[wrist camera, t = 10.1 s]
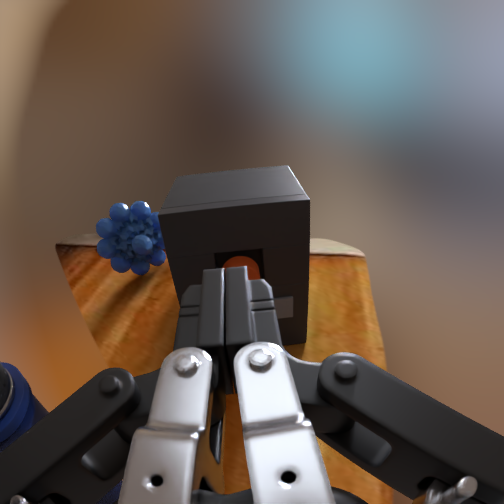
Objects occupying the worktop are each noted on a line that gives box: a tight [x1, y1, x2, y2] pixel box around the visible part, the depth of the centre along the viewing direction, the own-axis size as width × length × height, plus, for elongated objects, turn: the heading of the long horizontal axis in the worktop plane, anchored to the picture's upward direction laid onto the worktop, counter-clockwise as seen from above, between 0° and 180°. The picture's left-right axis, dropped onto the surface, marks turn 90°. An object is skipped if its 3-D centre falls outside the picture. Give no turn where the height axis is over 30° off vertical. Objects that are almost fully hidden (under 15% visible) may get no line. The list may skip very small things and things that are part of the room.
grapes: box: [96, 201, 166, 275], centre depth 43 cm, size 12×7×12 cm, turn 131°
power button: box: [222, 256, 260, 280], centre depth 27 cm, size 3×2×3 cm, turn 94°
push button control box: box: [158, 166, 310, 346], centre depth 33 cm, size 12×10×16 cm
